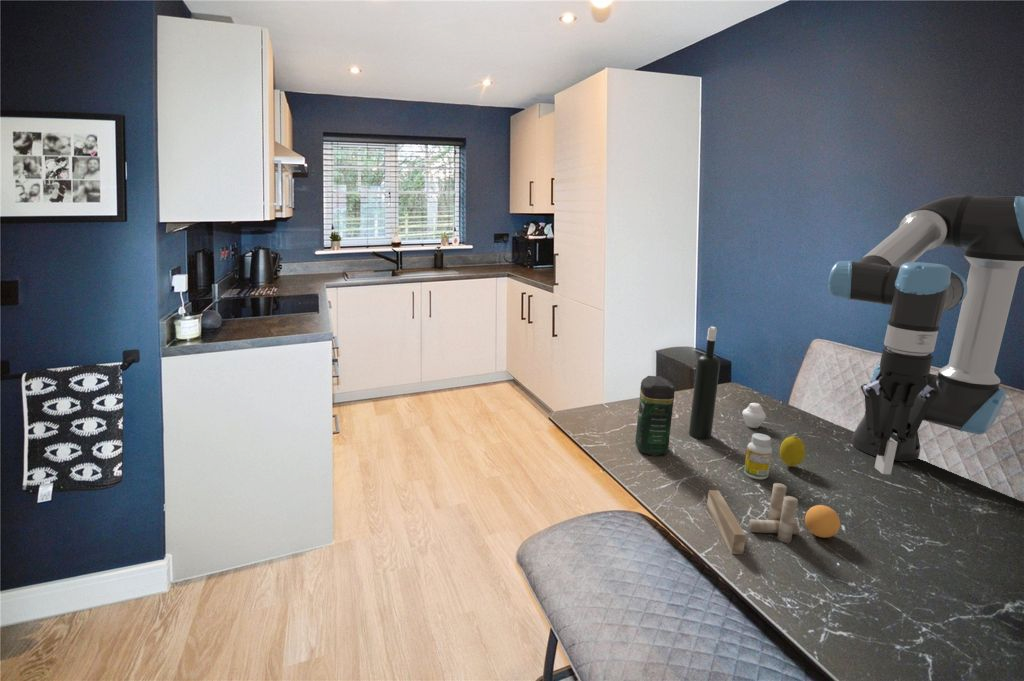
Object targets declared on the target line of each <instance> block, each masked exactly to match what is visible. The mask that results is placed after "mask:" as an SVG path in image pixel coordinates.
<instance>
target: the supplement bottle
mask: <svg viewBox="0 0 1024 681" xmlns="http://www.w3.org/2000/svg"><path fill="white" fill-rule="evenodd" d="M771 442H772V438H771V437H770V435H767V434H764V433H758V432H757V433H753V434H751V441H750V442H749V443H748V444H747V446H746V454H745V460H744V467H743V472H744V474H745V475H746V476H747V477H749V478H751V479H755V480H765V479H767V478H768V477H769V474H770V473H769V472H770V467H771V461H772V456H773V455H772V454H773V448H772V446H771V445H770V444H771Z"/></svg>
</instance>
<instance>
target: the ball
mask: <svg viewBox="0 0 1024 681" xmlns="http://www.w3.org/2000/svg"><path fill="white" fill-rule="evenodd" d="M804 521H805V522H804V523H805V525H806V527H807V529H808V531H810V533H812V535H814V536H816V537H819V538H822V539H823V538H831V537H834V536H836V534H837V533H838V532H839V530H840V527H841V520H840V516H839V514H838V513H837V512H836V511H835V510H834V509H833V508H832V507H830V506H827V505H823V504H816V505H813V506H812V507H810V508H809V509H808V510H807V511H806V514H805V517H804Z"/></svg>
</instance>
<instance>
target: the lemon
mask: <svg viewBox="0 0 1024 681" xmlns="http://www.w3.org/2000/svg"><path fill="white" fill-rule="evenodd" d="M779 456H780V459H781V461H782V462H783V463H784V464H786V465H787V466H788V467H793V466H798V465H799V464H801V463H802V462H803V461H804V459H805V456H806V446H805V443H804V441H803V440H802V439H800V438H799V437H798V436H797V435H793V436H788V437H786V438H784V440H783V441H782V442H781V445H780V447H779Z"/></svg>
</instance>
